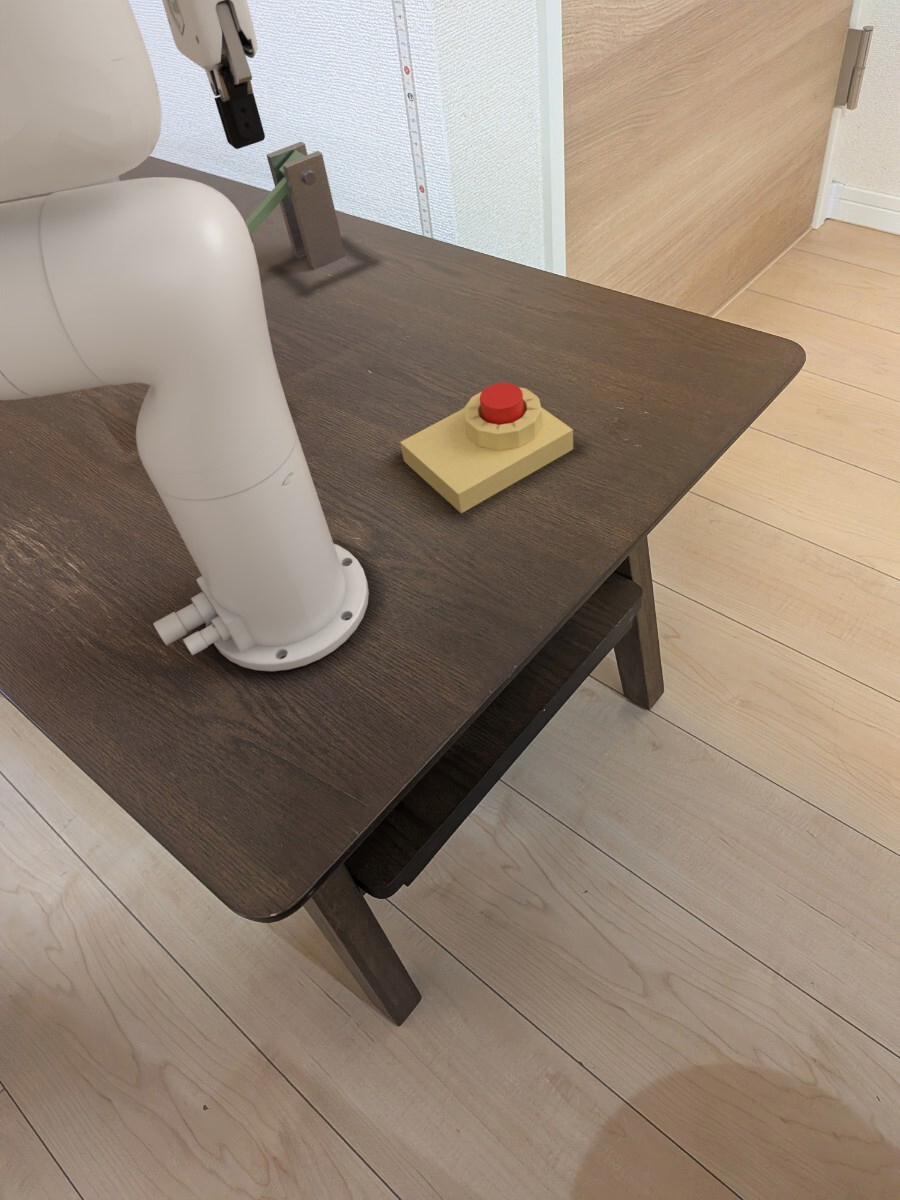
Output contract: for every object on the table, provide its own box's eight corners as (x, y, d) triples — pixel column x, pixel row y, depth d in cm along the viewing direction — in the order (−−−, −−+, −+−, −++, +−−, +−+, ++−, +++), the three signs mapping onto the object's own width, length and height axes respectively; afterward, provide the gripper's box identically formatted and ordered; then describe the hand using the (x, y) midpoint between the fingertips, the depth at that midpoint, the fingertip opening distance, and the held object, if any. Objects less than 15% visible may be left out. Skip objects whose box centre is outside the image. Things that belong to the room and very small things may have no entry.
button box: (461, 513, 68) (455, 477, 65) (403, 461, 73) (396, 425, 70) (573, 449, 71) (573, 412, 68) (510, 403, 77) (507, 367, 74)
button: (498, 431, 69) (496, 414, 67) (473, 412, 71) (471, 395, 69) (532, 412, 70) (531, 395, 68) (506, 394, 72) (505, 377, 70)
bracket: (304, 292, 95) (273, 178, 85) (274, 268, 100) (241, 158, 90) (370, 263, 98) (347, 149, 88) (338, 241, 102) (312, 130, 93)
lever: (243, 265, 92) (224, 245, 89) (232, 255, 93) (212, 235, 91) (322, 176, 91) (304, 153, 88) (308, 168, 93) (291, 145, 90)
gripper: (103, -110, 67) (186, 133, 80) (153, -92, 57) (236, 179, 71) (190, -131, 68) (256, 110, 82) (251, -117, 59) (314, 152, 73)
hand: (247, 142), depth 77 cm, fingers closed
